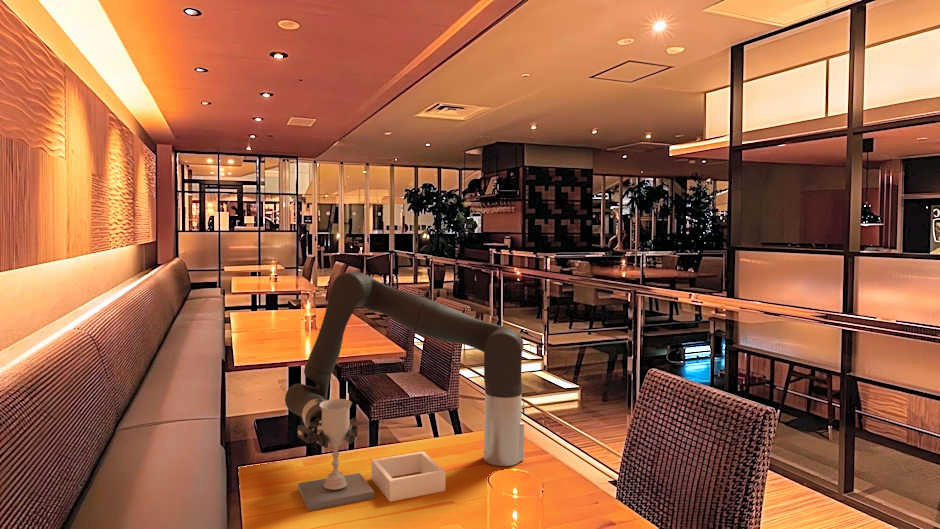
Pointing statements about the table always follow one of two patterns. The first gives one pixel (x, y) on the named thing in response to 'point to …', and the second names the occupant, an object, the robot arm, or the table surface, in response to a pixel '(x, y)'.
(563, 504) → the table surface
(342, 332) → the robot arm
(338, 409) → the chalice
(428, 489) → the open box
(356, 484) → the slate board
